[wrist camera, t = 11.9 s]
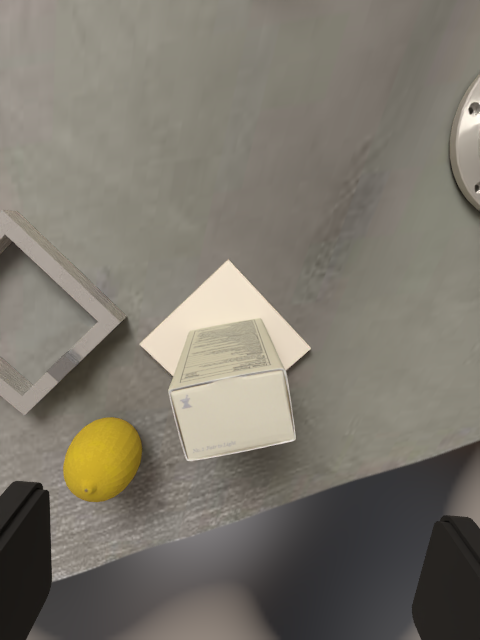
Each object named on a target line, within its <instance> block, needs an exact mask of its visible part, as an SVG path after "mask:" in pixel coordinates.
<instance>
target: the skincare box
mask: <svg viewBox="0 0 480 640" xmlns="http://www.w3.org/2000/svg"><path fill="white" fill-rule="evenodd" d="M168 392H169V396H170V401H171V405H172V409H173V414H174V419H175V422H176V426H177V430H178V434H179V438H180V442H181V445H182V448H183V452H184V455H185V458H186V460H187V461H194V460H201V459H208V458H213V457H218V456H223V455H229V454H234V453H239V452H244V451H250V450H254V449H259V448H264V447H268V446H273V445H278V444H283V443H287V442H292V441H295V440H296V434H295V427H294V419H293V411H292V404H291V398H290V391H289V385H288V380H287V374H286V370H285V368H284V366H283V364H282V362H281V360H280V358H279V355H278V353H277V351H276V349H275V347H274V345H273V342H272V340H271V338H270V336H269V334H268V331H267V329H266V327H265V325H264V323H263V321H262V319H261V318H257V319H250V320H244V321H238V322H233V323H227V324H222V325H216V326H211V327H206V328H201V329H197V330H192V331H190V332H189V333H188V336H187V339H186V342H185V345H184V348H183V351H182V353H181V356H180V359H179V362H178V365H177V368H176V370H175V373H174V376H173V379H172V382H171V384H170V387H169V390H168Z"/></svg>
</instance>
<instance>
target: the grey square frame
mask: <svg viewBox="0 0 480 640" xmlns="http://www.w3.org/2000/svg"><path fill="white" fill-rule="evenodd" d="M12 241H13V242H14V243H15V244H16V245H17V246H18V247H19V248H20V249H21V250H22V251H23V252H24V253H25V254H27V255H28V256H29V257H30V258H31V259H32V260H33V261H34V262H35V263H36V264H37V265H38V266H39V267H40V268H41V269H43V270H44V271H45V272H46V273H47V274H48V275H49V276H50V277H51V278H52V279H53V280H54V281H55V282H56V283H57V284H59V285H60V286H61V287H62V288H63V289H64V290H65V291H66V292H67V293H68V294H69V295H70V296H71V297H72V298H73V299H75V300H76V301H77V302H78V303H79V304H80V305H81V306H82V307H83V308H84V309H85V310H86V311H87V312H88V313H90V314H91V315H92V316H93V317H94V318H95V319H96V320H97V321H98V322H97V323H96V324H95V325H94V326H93V327H92V328H91V329H90V330H89V331H88V332H87V333H86V334H85V335H84V336H83V337H82V338H81V339H80V340H79V341H78V342H77V343H76V344H75V345H74V346H73V347H72V348H71V349H70V350H69V351H68V352H66V353H65V354H64V355H63V356H62V357H61V358H60V359H59V360H58V361H57V362H56V363H55V364H54V365H53V366H52V367H51V368H50V369H49V370H48V371H47V372H46V373H45V374H44V375H43V376H42V377H41V378H40V379H39V380H38V381H37V382H36V383H35V384H34V385H33V384H32V383H30V382H29V381H28V380H27V379H26V378H25V377H23V376H22V375H21V374H20V373H19V372H18V371H16V370H15V369H14V368H13V367H12V366H11V365H9V364H8V363H7V362H6V361H5V360H4V359H2V358H1V357H0V396H2V397H3V398H4V399H5V400H6V401H8V402H9V403H10V404H11V405H12V406H14V407H15V408H16V409H17V410H18V411H20V412H21V413H22V414H23V415H25V414H27V413H28V412H29V411H30V410H31V409H32V408H33V407H34V406H35V405H36V404H37V403H38V402H39V401H40V400H41V399H42V398H44V397H45V396H46V395H47V394H48V393H49V392H50V391H51V390H52V389H53V388H54V387H55V386H56V385H57V384H58V383H59V382H60V381H61V380H62V379H63V378H64V377H65V376H66V375H67V374H68V373H69V372H70V371H71V370H72V369H73V368H74V367H75V366H76V365H78V364H79V363H80V362H81V361H82V360H83V359H84V358H85V357H86V356H87V355H88V354H89V353H90V352H91V351H92V350H93V349H94V348H95V347H96V346H97V345H98V344H99V343H100V342H101V341H102V340H103V339H104V338H105V337H106V336H107V335H108V334H109V333H111V332H112V331H113V330H114V329H115V328H116V327H117V326H118V325H119V324H120V323H121V322H122V321H123V320H124V319H125V318H126V317H127V316H126V315H125V314H124V313H123V312H122V311H121V310H120V309H119V308H118V307H117V306H116V305H115V304H114V303H113V302H112V301H111V300H110V299H109V298H107V297H106V296H105V295H104V294H103V293H102V292H101V291H100V290H99V289H98V288H97V287H96V286H95V285H94V284H93V283H92V282H91V281H90V280H89V279H88V278H87V277H86V276H85V275H83V274H82V273H81V272H80V271H79V270H78V269H77V268H76V267H75V266H74V265H73V264H72V263H71V262H70V261H69V260H68V259H67V258H66V257H65V256H64V255H63V254H62V253H61V252H60V251H58V250H57V249H56V248H55V247H54V246H53V245H52V244H51V243H50V242H49V241H48V240H47V239H46V238H45V237H44V236H43V235H42V234H41V233H40V232H39V231H38V230H37V229H36V228H34V227H33V226H32V225H31V224H30V223H29V222H28V221H27V220H26V219H25V218H24V217H23V216H22V215H21V214H20V213H19V212H18V211H10V210H2V211H1V212H0V254H1V253H2V252H3V251H4V250H5V249H6V248H7V247H8V246H9V245H10V244H11V242H12Z"/></svg>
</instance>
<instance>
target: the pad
mask: <svg viewBox="0 0 480 640" xmlns="http://www.w3.org/2000/svg"><path fill="white" fill-rule="evenodd" d="M257 318H261V319H262V321H263V323H264V325H265V327H266V329H267V331H268V334H269V336H270V338H271V340H272V342H273V345H274V347H275V349H276V351H277V353H278V355H279V358H280V360H281V362H282V364H283V366H284V368H285V370H287V369H288V368H289V367H290V366H292V365H293V364H294V363H295V362H296V361H297V360H299V359H300V358H301V357H302V356H303V355H304V354H305V353H307V352H308V351H309V350H310V349H311V348H310V346H309V345H308V344H307V343H306V342H305V341H304V340H303V338H302V337H301V336H300V335H299V334H298V333H297V332H296V331H295V330H294V329H293V328H292V327H291V326H290V325H289V323H288V322H287V321H286V320H285V319H284V318H283V317H282V316H281V315H280V314H279V313H278V312H277V311H276V310H275V308H274V307H273V306H272V305H271V304H270V303H269V302H268V301H267V300H266V299H265V298H264V297H263V296H262V295H261V293H260V292H259V291H258V290H257V289H256V288H255V287H254V286H253V285H252V284H251V283H250V282H249V281H248V280H247V278H246V277H245V276H244V275H243V274H242V273H241V272H240V271H239V270H238V269H237V268H236V267H235V266H234V265H233V263H232V262H231V261H230V260H229V259H228V260H227V261H226V262H225V263H224V264H223V265H222V266H221V267H219V268H218V269H217V270H216V271H215V272H214V273H213V274H212V275H211V276H210V277H209V278H208V279H207V280H206V281H205V282H204V283H203V284H202V285H201V286H199V287H198V288H197V289H196V290H195V291H194V292H193V293H192V294H191V295H190V296H189V297H188V298H187V299H186V300H185V301H184V302H183V303H182V304H181V305H179V306H178V307H177V308H176V309H175V310H174V311H173V312H172V313H171V314H170V315H169V316H168V317H167V318H166V319H165V320H164V321H163V322H162V323H160V324H159V325H158V326H157V327H156V328H155V329H154V330H153V331H152V332H151V333H150V334H149V335H148V336H147V337H146V338H145V339H144V340H143V341H142V342H141V343H140V345H141V346H142V347H143V348H144V349H145V350H146V351H147V352H148V353H149V354H150V355H151V356H152V357H153V358H155V359H156V360H157V361H158V362H159V363H160V364H161V365H162V366H163V367H164V368H165V369H166V370H167V371H168V372H169V373H170V374H171V375H172V376H174V373H175V370H176V368H177V365H178V362H179V359H180V356H181V353H182V351H183V348H184V345H185V342H186V339H187V336H188V333H189V332H190V331H192V330H197V329H201V328H206V327H211V326H216V325H222V324H227V323H233V322H238V321H244V320H250V319H257Z"/></svg>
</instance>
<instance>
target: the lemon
mask: <svg viewBox="0 0 480 640" xmlns="http://www.w3.org/2000/svg"><path fill="white" fill-rule="evenodd" d="M141 456H142V444H141V439H140V437H139V435H138V432H137V431H136V430H135V428H134V427H133V426H132V425H131V424H129V423H128V422H127V421H124V420H122V419H119V418H114V417H110V418H102V419H98V420H95V421H94V422H92V423H90V424H88V425H87V426H85V427H84V428H83V429H82V430H81V431H80V432H79V433H78V434H77V435H76V436H75V438H74V439H73V441H72V443H71V444H70V446H69V448H68V450H67V453H66V456H65V461H64V466H63V472H64V479H65V482H66V484H67V487H68V488H69V489H70V491H71V492H72V493H73V494H74V495H76V496H77V497H78V498H80V499H82V500H85V501H89V502H101V501H106V500H108V499H111V498H113V497H115V496H116V495H118V494H119V493H120V492H122V491H123V490H124V489H125V488H126V487H127V485H128V484H129V483H130V482H131V480H132V479H133V478H134V476H135V474H136V472H137V470H138V467H139V465H140V462H141Z"/></svg>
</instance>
